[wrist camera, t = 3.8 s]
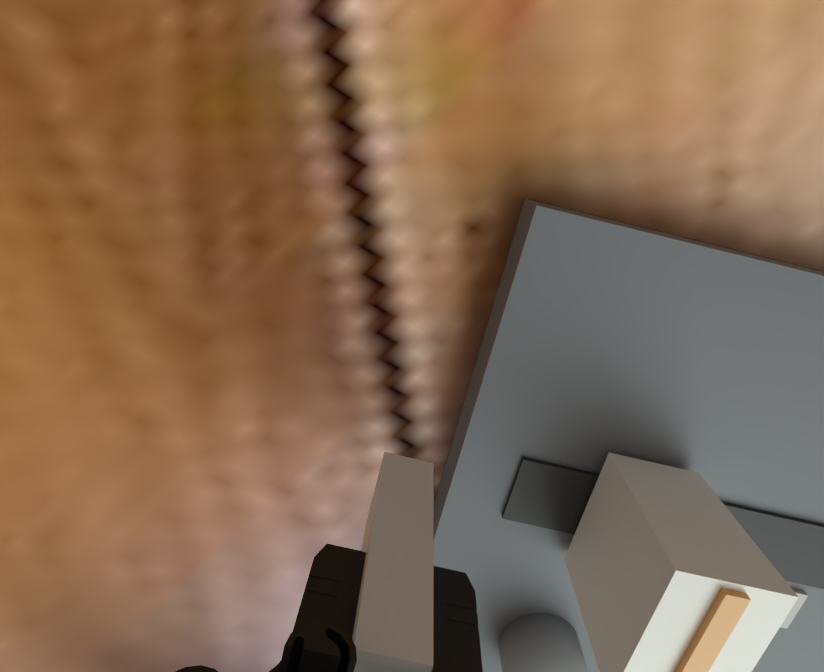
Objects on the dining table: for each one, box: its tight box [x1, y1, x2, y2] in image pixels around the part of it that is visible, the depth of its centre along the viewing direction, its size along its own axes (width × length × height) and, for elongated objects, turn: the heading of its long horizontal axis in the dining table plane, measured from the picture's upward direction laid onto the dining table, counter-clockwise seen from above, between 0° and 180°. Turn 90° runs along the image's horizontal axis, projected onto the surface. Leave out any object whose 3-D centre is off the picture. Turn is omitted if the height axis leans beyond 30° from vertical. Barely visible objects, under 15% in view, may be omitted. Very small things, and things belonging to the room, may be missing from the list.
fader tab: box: [564, 452, 799, 672], centre depth 15 cm, size 4×3×5 cm
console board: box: [433, 199, 824, 672], centre depth 18 cm, size 18×26×4 cm
